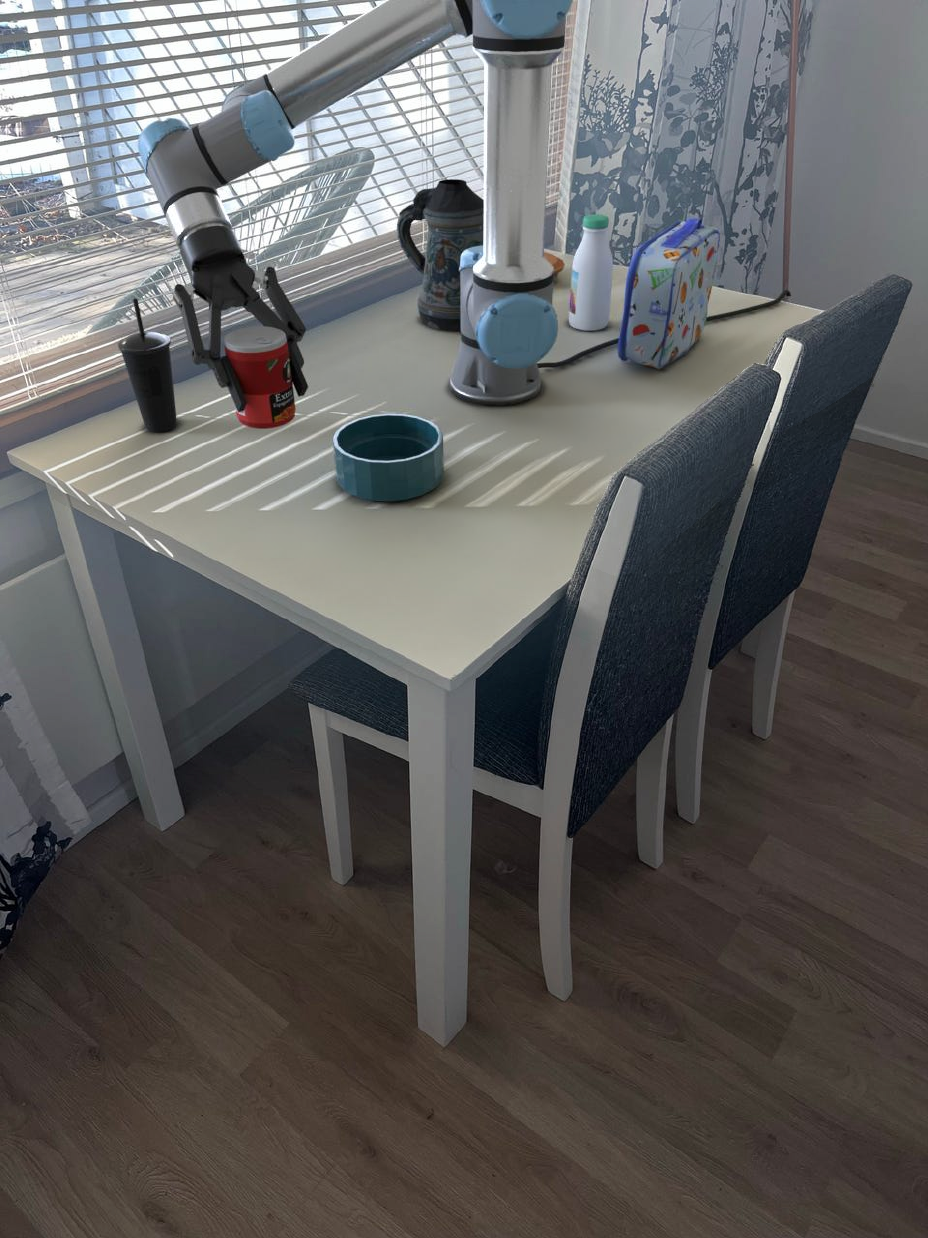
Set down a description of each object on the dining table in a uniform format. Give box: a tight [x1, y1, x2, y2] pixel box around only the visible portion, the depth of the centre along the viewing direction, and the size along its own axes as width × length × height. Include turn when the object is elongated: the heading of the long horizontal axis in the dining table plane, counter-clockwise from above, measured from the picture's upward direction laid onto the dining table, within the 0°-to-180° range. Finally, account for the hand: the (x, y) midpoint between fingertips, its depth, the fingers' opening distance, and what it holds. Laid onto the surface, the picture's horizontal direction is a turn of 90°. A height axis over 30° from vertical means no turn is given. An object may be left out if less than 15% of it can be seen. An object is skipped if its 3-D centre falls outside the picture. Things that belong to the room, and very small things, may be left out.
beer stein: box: [396, 178, 484, 332], centre depth 183 cm, size 16×19×25 cm
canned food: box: [223, 325, 296, 430], centre depth 125 cm, size 8×8×11 cm
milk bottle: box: [568, 213, 614, 332], centre depth 181 cm, size 8×8×20 cm
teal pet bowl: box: [332, 413, 445, 502], centre depth 136 cm, size 15×15×6 cm
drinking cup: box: [117, 298, 178, 433], centre depth 146 cm, size 8×8×20 cm
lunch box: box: [617, 217, 721, 370], centre depth 170 cm, size 28×10×22 cm, turn 152°
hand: (273, 399), depth 123 cm, fingers closed on canned food, 8 cm apart
